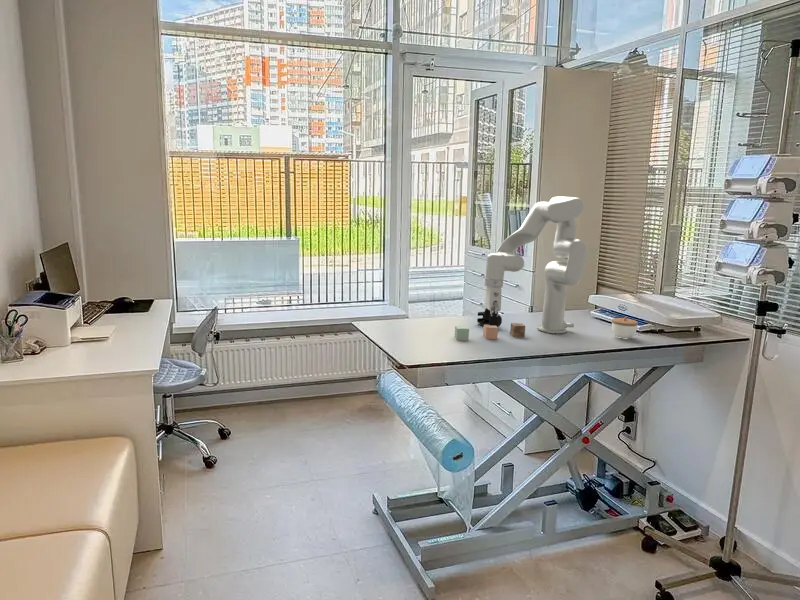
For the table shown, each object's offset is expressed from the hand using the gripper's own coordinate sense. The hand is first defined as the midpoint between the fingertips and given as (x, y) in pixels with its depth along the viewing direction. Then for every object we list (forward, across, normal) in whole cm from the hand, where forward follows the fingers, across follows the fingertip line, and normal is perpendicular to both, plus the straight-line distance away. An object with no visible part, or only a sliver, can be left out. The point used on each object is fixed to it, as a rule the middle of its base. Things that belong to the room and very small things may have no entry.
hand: (490, 322), depth 252 cm
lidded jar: (+5, +4, -62) cm, 62 cm away
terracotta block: (+6, 0, -1) cm, 7 cm away
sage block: (+7, -3, +12) cm, 14 cm away
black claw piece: (+6, +19, -5) cm, 21 cm away
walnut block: (+6, +4, -14) cm, 16 cm away
